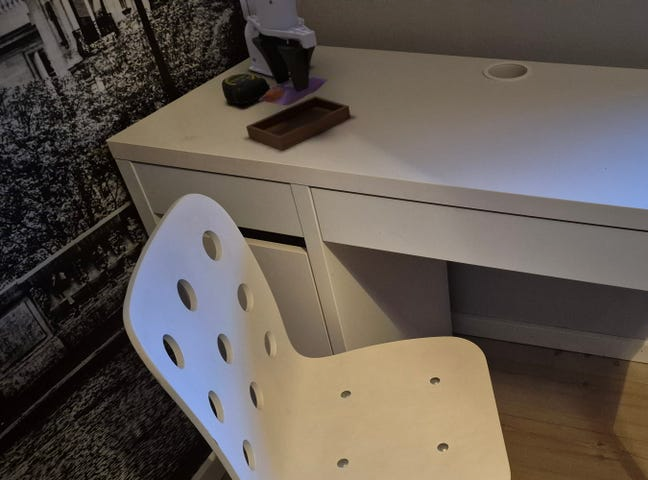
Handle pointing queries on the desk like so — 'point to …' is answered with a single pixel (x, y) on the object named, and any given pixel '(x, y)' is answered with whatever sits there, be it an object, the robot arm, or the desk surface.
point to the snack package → (291, 92)
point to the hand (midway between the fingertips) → (292, 85)
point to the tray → (298, 122)
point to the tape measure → (244, 88)
